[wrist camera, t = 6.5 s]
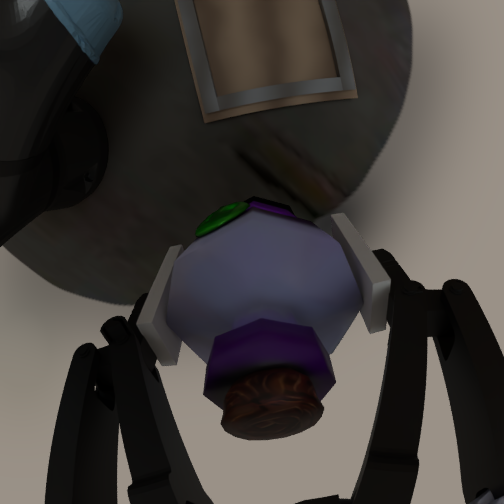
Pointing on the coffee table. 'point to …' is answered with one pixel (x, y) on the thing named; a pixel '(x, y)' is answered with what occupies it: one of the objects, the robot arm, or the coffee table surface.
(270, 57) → the jig plate
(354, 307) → the potion bottle
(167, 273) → the robot arm
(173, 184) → the coffee table surface
